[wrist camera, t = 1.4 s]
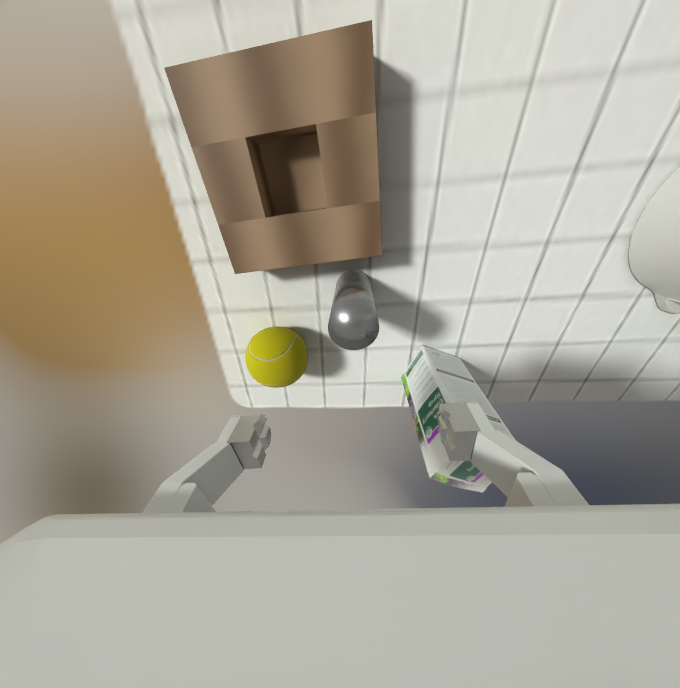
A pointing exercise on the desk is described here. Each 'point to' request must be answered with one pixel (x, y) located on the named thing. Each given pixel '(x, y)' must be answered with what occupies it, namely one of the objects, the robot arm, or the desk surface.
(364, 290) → the pin
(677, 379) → the desk surface
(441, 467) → the syrup box
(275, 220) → the socket block
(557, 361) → the desk surface
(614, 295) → the desk surface
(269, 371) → the tennis ball
